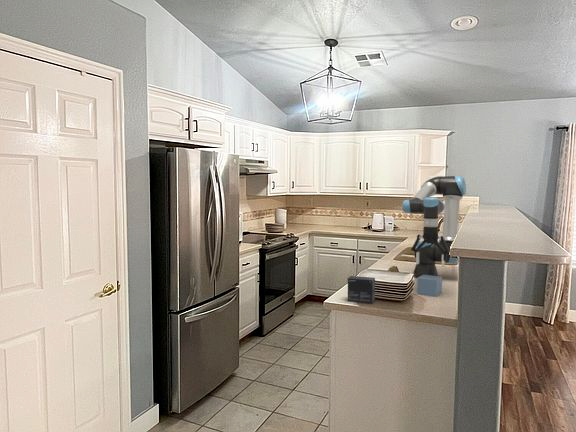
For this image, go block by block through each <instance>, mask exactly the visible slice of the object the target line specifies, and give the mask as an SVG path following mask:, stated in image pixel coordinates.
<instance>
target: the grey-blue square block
mask: <svg viewBox="0 0 576 432" xmlns="http://www.w3.org/2000/svg"><path fill="white" fill-rule="evenodd" d="M416 279H417V281H416V282H417V284H416V285H417V287H416V290H417V292H416V295H422V296H429V297H436V298H437V297H438V296H439V295H441V294H443V293H442V292H443V276H439V275H438V276H432V275H422V276H420V277H418V278H416Z"/></svg>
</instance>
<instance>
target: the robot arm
mask: <svg viewBox="0 0 576 432" xmlns="http://www.w3.org/2000/svg"><path fill="white" fill-rule="evenodd" d="M466 194H467V184H466V180H465V178H464V177H463V176H460V175H447V176H441V175H440V176H435V177H432V178H429V179H427V180H426V181H424V182H423V183H422V185H421V186H420V189H419V190H418V191H417V192H416V193H415V195H413V197H411V198H410V199H405V200H403V201H402V204H401V205H402V207H401V208H402V212H403V213H405V214H423V224H422V225H423V230H422V231H423V233H422V234H420V233H419V234H417V235H416V239H415V241H414V243H413V245H412V247H411V250H410V251H412V252H414V258H415V259H416V260H415V267H414V269H413V272H412V275H413V274H414V276H413V278H416V279H417V278H418V277H420V276H422V275H432V276H439V273H438V269H437V266H436V262H439V263H441V268H444V267H445V263H448V264H457V263H458V262H459V261H458V259H457V258H450V255H449V251H450V246H451V244H452V242H453V240H454V238H455V236H456V234H457V235H458V230H459V213H460V201H461V200H462V199H463V196H465V195H466ZM435 195H438V196H439V195H441V196H442V198H443V199H444V202H443V201H442V200H440V199H439V198H438V197H433V196H435ZM442 212H443V219H442V220H443V222H442V234H441V235H439V214H441V213H442ZM421 239H423V240H421Z"/></svg>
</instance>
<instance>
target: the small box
mask: <svg viewBox="0 0 576 432" xmlns="http://www.w3.org/2000/svg"><path fill="white" fill-rule="evenodd" d="M375 300H376V278H375V277H372V276H371V277H370V276H368V277H367V276H357V275H350V276H349V277H347V302H353V303H354V302H355V303H363V304H364V303H365V304H373V303H374V302H375Z"/></svg>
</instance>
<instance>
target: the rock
mask: <svg viewBox="0 0 576 432" xmlns="http://www.w3.org/2000/svg"><path fill="white" fill-rule="evenodd" d="M387 271H391V272H399V273H400V271H399V268H398V266H397V265H396V266H395V265H392V266H390V267H388V270H387Z"/></svg>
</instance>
